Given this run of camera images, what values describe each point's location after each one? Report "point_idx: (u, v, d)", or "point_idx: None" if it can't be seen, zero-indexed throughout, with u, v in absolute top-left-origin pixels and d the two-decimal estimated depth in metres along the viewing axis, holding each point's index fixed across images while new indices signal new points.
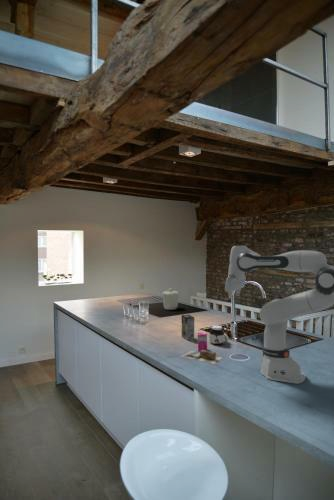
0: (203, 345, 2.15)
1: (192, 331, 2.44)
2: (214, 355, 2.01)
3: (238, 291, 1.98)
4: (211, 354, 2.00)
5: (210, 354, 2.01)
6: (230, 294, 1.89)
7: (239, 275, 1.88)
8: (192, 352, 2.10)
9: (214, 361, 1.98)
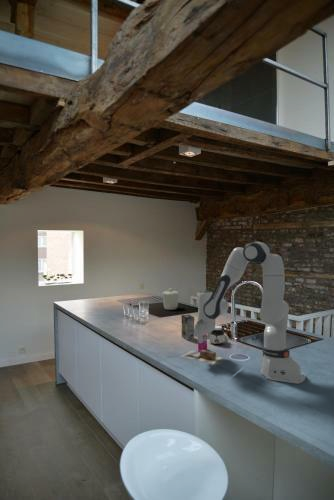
0: (203, 345, 2.15)
1: (192, 331, 2.44)
2: (214, 355, 2.01)
3: (209, 334, 2.09)
4: (211, 354, 2.00)
5: (210, 354, 2.01)
6: (200, 339, 1.99)
7: (207, 320, 2.00)
8: (192, 352, 2.10)
9: (214, 361, 1.98)
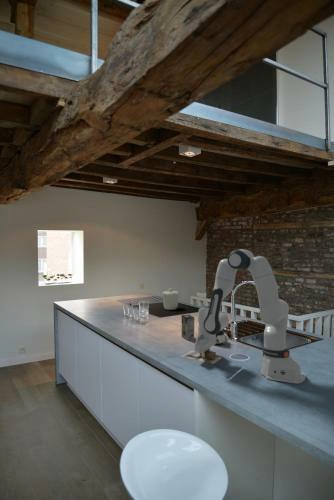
0: None
1: (192, 331, 2.44)
2: (214, 355, 2.01)
3: (208, 350, 2.07)
4: (211, 354, 2.00)
5: (210, 354, 2.01)
6: (203, 353, 2.01)
7: (207, 335, 2.00)
8: (192, 352, 2.10)
9: (214, 361, 1.98)
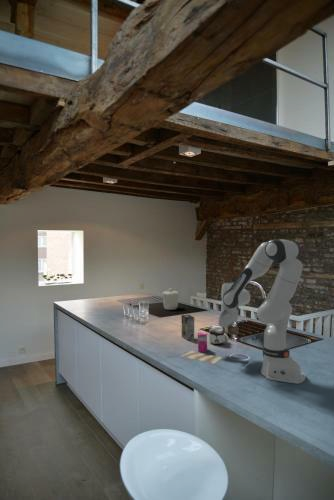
0: (203, 345, 2.15)
1: (192, 331, 2.44)
2: (237, 330, 2.04)
3: (230, 325, 2.10)
4: (234, 329, 2.03)
5: (233, 329, 2.04)
6: (226, 328, 2.04)
7: (231, 310, 2.03)
8: (214, 328, 2.14)
9: (214, 361, 1.98)
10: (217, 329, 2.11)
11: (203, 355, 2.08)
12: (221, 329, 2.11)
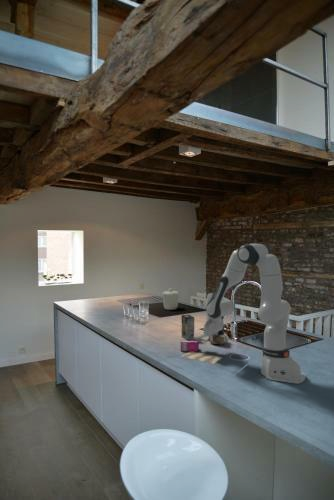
0: (190, 345, 2.16)
1: (192, 331, 2.44)
2: (223, 340, 2.11)
3: (215, 334, 2.16)
4: (220, 339, 2.10)
5: (219, 339, 2.10)
6: (211, 337, 2.10)
7: (216, 320, 2.09)
8: (200, 335, 2.18)
9: (214, 361, 1.98)
10: (203, 337, 2.16)
11: (203, 355, 2.08)
12: (207, 337, 2.16)
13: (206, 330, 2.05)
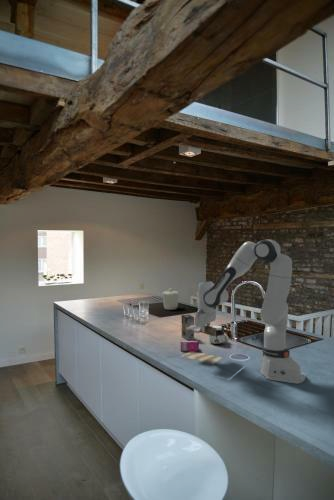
0: (190, 345, 2.16)
1: None
2: (215, 331, 2.01)
3: (208, 325, 2.06)
4: (212, 330, 2.00)
5: (211, 330, 2.00)
6: (203, 328, 2.01)
7: (207, 310, 1.99)
8: (192, 326, 2.09)
9: (214, 361, 1.98)
10: (194, 328, 2.06)
11: (203, 355, 2.08)
12: (198, 328, 2.06)
13: (197, 320, 1.95)
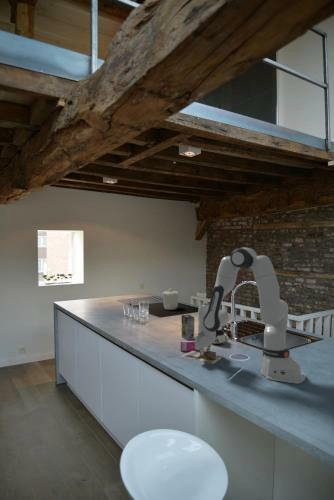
0: (190, 345, 2.16)
1: (192, 331, 2.44)
2: (214, 355, 2.01)
3: (209, 347, 2.08)
4: (212, 354, 2.01)
5: (210, 354, 2.01)
6: (202, 351, 2.00)
7: (207, 333, 2.00)
8: (192, 352, 2.10)
9: (214, 361, 1.98)
10: (194, 354, 2.07)
11: None
12: (198, 354, 2.07)
13: (197, 343, 1.96)
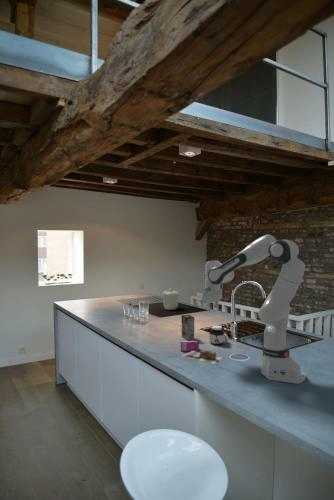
0: (190, 345, 2.16)
1: (192, 331, 2.44)
2: (214, 355, 2.01)
3: (216, 303, 2.13)
4: (212, 354, 2.01)
5: (210, 354, 2.01)
6: (208, 306, 2.04)
7: (214, 288, 2.04)
8: (192, 352, 2.10)
9: (214, 361, 1.98)
10: (194, 354, 2.07)
11: None
12: (198, 354, 2.07)
13: (204, 298, 2.00)
